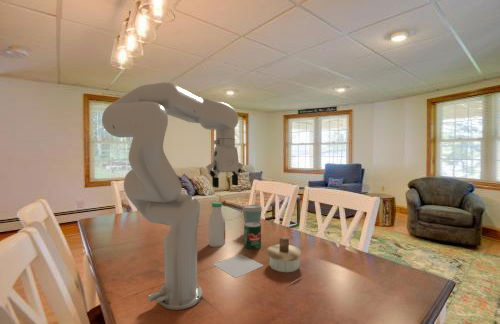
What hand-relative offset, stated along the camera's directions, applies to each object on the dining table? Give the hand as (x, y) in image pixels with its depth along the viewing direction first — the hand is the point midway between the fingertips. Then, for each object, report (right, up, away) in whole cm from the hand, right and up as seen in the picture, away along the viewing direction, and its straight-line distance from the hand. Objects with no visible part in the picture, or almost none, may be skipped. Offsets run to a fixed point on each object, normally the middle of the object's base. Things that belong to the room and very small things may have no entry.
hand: (225, 186), depth 102 cm
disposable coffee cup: (+11, -29, +35) cm, 47 cm away
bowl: (+23, -31, -4) cm, 39 cm away
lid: (+23, -26, -5) cm, 35 cm away
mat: (+5, -31, -4) cm, 31 cm away
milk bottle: (-6, -30, +18) cm, 35 cm away
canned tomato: (+11, -30, +15) cm, 35 cm away
